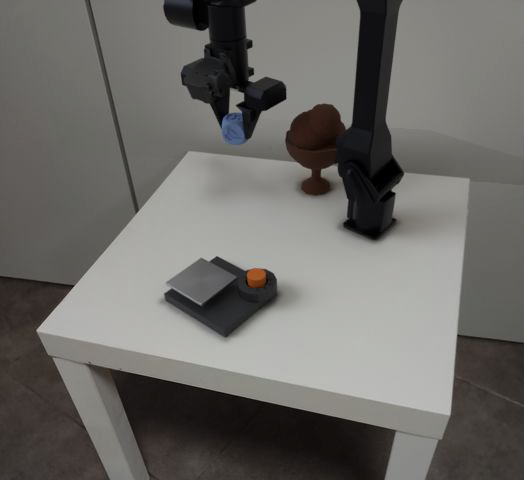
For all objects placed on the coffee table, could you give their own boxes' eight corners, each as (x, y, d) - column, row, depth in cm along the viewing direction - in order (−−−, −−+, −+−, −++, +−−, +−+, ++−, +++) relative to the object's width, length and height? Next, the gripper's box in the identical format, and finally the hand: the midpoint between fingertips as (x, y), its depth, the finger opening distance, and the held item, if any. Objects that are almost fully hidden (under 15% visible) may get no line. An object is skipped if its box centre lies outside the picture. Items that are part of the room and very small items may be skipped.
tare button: (269, 281, 77) (269, 273, 75) (257, 291, 75) (257, 282, 74) (256, 274, 78) (255, 265, 77) (244, 283, 77) (243, 275, 75)
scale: (284, 294, 79) (284, 278, 76) (229, 340, 73) (227, 324, 71) (221, 260, 85) (219, 244, 82) (165, 300, 79) (161, 285, 77)
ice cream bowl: (345, 171, 101) (351, 88, 90) (345, 205, 93) (352, 119, 82) (288, 170, 102) (287, 88, 91) (284, 203, 94) (282, 118, 83)
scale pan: (237, 278, 77) (237, 276, 76) (201, 306, 73) (201, 304, 73) (201, 259, 80) (201, 257, 80) (165, 284, 77) (165, 282, 76)
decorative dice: (245, 146, 93) (243, 123, 90) (222, 144, 94) (220, 122, 91) (250, 135, 96) (249, 112, 93) (228, 134, 97) (226, 111, 94)
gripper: (147, 39, 83) (165, 137, 95) (237, 65, 75) (245, 169, 86) (199, 19, 89) (210, 114, 100) (288, 41, 80) (289, 142, 92)
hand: (236, 134), depth 94 cm, fingers closed on decorative dice, 5 cm apart
